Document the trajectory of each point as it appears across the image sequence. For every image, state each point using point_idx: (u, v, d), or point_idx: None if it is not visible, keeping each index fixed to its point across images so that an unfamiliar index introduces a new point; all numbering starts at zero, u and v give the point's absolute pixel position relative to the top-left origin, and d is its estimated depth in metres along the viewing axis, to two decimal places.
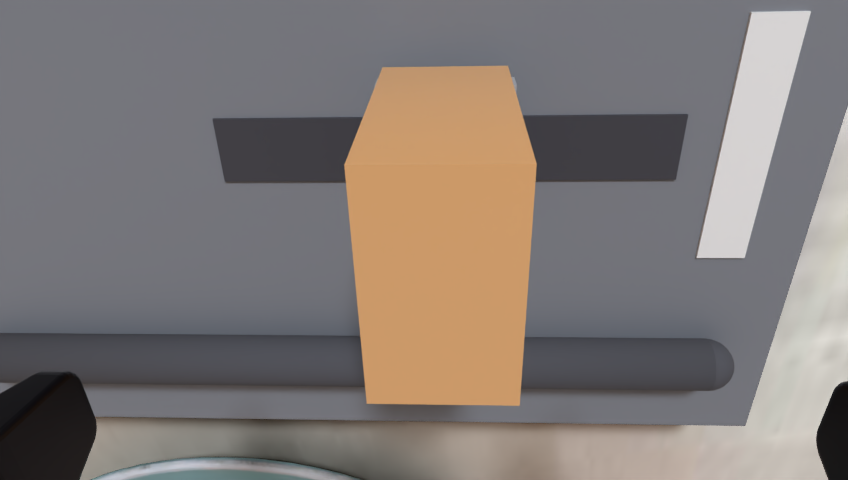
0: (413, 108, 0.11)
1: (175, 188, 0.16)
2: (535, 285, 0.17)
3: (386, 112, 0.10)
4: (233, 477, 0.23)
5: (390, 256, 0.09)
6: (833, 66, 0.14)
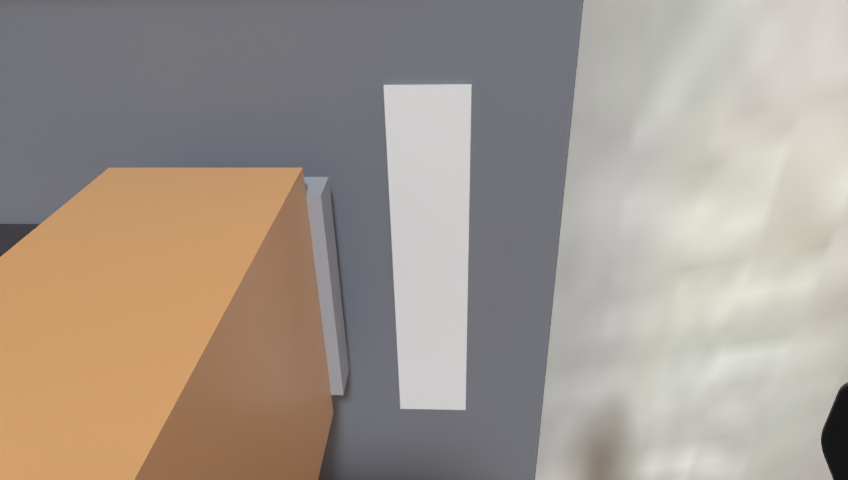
0: (52, 282, 0.06)
1: None
2: None
3: None
4: None
5: None
6: (527, 163, 0.09)
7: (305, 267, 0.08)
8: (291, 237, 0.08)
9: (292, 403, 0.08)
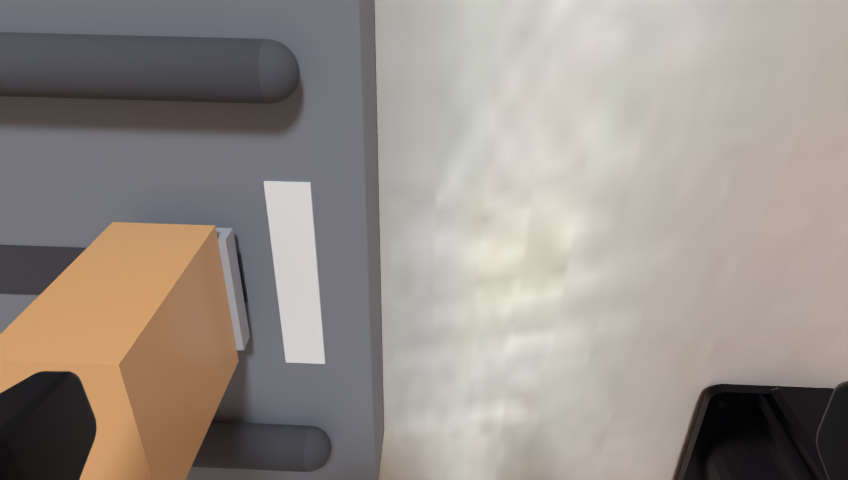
0: (89, 284, 0.13)
1: None
2: None
3: (62, 290, 0.13)
4: None
5: None
6: (345, 223, 0.17)
7: (216, 277, 0.16)
8: (205, 263, 0.15)
9: (204, 347, 0.15)
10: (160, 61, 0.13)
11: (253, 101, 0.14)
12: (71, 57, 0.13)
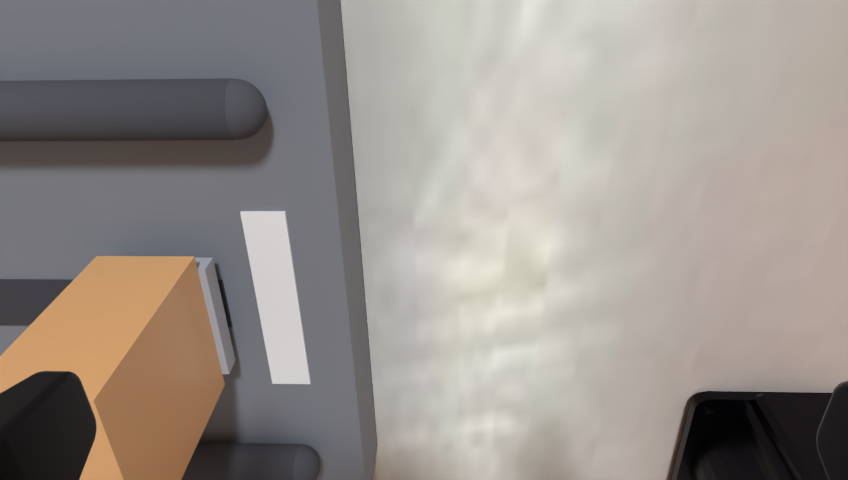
0: (70, 320, 0.14)
1: None
2: None
3: (45, 327, 0.14)
4: None
5: None
6: (321, 249, 0.17)
7: (197, 306, 0.16)
8: (185, 293, 0.16)
9: (186, 374, 0.16)
10: (131, 104, 0.14)
11: (222, 138, 0.14)
12: (48, 104, 0.14)
